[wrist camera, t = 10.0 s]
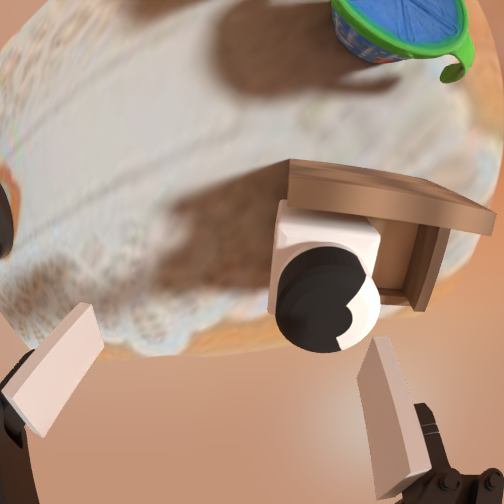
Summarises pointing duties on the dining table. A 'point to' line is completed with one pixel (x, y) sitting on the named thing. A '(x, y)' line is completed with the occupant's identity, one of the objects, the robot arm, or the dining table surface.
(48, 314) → the dining table surface
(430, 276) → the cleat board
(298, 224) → the medicine bottle
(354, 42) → the snack cup
